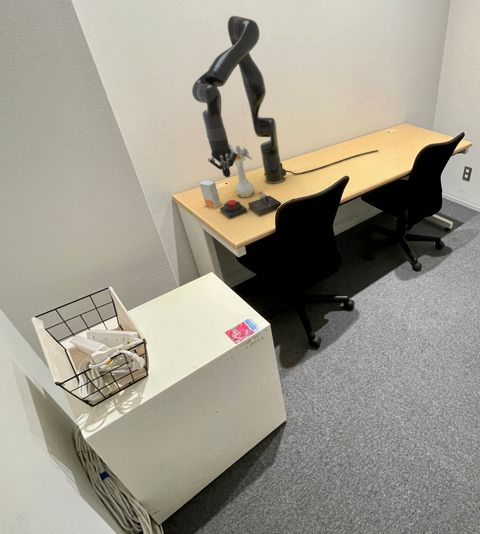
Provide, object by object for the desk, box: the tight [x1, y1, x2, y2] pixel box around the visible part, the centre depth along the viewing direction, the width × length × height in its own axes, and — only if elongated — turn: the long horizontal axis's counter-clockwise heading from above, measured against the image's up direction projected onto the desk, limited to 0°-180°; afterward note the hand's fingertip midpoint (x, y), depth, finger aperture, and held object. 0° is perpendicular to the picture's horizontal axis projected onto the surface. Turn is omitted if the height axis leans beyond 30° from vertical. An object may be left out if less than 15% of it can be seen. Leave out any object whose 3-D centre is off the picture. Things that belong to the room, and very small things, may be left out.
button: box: [226, 199, 237, 207], centre depth 154 cm, size 4×4×2 cm
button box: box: [219, 200, 248, 220], centre depth 155 cm, size 9×9×4 cm
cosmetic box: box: [199, 179, 222, 209], centre depth 158 cm, size 6×4×12 cm
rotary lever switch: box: [247, 195, 282, 217], centre depth 159 cm, size 12×10×3 cm
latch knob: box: [258, 191, 269, 205], centre depth 156 cm, size 6×2×5 cm, turn 44°
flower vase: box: [229, 143, 255, 198], centre depth 163 cm, size 13×18×25 cm
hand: (227, 176), depth 147 cm, fingers closed
